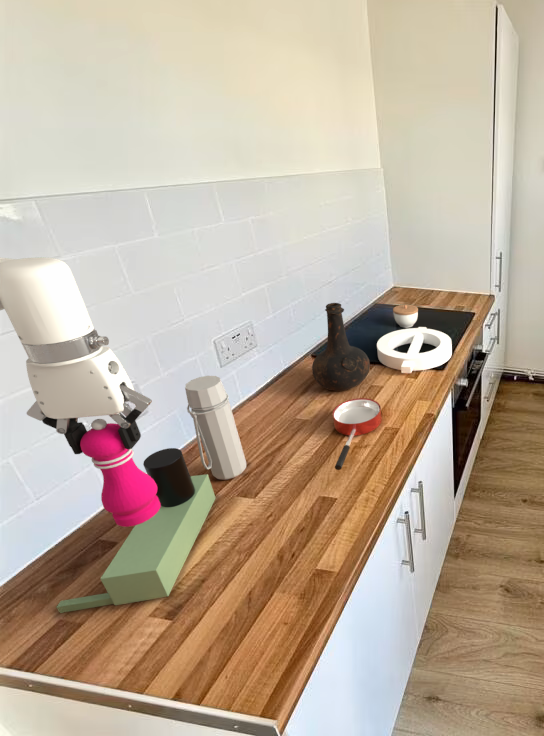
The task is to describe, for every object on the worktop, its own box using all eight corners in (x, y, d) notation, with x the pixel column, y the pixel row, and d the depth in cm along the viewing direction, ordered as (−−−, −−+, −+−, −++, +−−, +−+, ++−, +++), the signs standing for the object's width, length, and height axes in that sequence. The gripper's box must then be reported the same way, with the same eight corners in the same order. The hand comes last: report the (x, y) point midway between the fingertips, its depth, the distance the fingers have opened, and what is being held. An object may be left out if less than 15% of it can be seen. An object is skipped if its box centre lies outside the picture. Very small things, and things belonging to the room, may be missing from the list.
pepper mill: (100, 524, 74) (52, 428, 65) (142, 494, 80) (103, 403, 71) (134, 533, 72) (89, 437, 64) (174, 502, 79) (138, 411, 70)
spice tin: (153, 509, 85) (136, 470, 80) (167, 487, 90) (152, 449, 86) (188, 505, 86) (173, 466, 82) (200, 484, 91) (186, 446, 87)
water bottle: (229, 458, 109) (203, 372, 98) (255, 465, 107) (232, 378, 96) (197, 483, 101) (165, 392, 90) (224, 490, 99) (195, 398, 88)
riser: (58, 615, 73) (40, 588, 69) (132, 508, 93) (121, 484, 90) (168, 596, 76) (156, 570, 73) (215, 498, 97) (207, 474, 94)
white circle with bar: (405, 378, 149) (404, 366, 147) (363, 351, 166) (362, 340, 164) (466, 355, 168) (466, 344, 166) (423, 333, 185) (423, 322, 183)
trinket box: (405, 318, 199) (404, 299, 195) (423, 324, 194) (422, 304, 190) (388, 325, 190) (387, 305, 186) (407, 331, 186) (406, 311, 181)
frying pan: (380, 480, 105) (378, 460, 102) (322, 488, 102) (319, 467, 99) (382, 408, 132) (380, 390, 130) (337, 412, 129) (334, 394, 126)
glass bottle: (326, 404, 133) (312, 320, 121) (307, 380, 145) (292, 301, 133) (380, 386, 144) (373, 307, 132) (358, 366, 156) (349, 292, 143)
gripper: (147, 332, 67) (180, 427, 75) (9, 338, 63) (59, 438, 71) (121, 353, 61) (160, 454, 69) (-35, 362, 56) (25, 468, 64)
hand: (108, 445), depth 70 cm, fingers closed on pepper mill, 6 cm apart
